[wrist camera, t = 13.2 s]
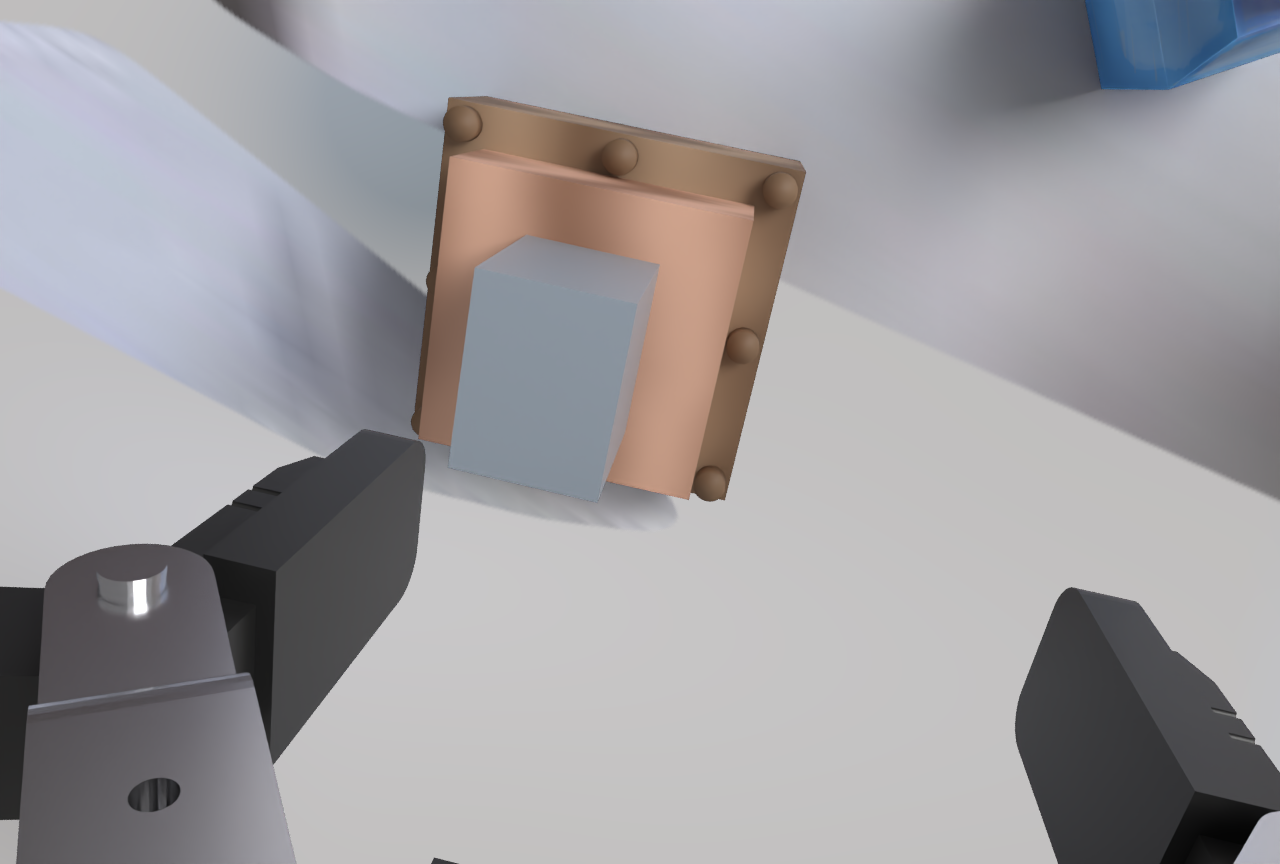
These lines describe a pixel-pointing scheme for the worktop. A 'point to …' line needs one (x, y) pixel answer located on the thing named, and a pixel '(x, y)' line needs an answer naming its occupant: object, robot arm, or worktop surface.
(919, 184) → the worktop surface
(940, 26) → the worktop surface
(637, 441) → the brown studded stepped block
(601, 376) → the grey brick
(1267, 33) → the perfume bottle
